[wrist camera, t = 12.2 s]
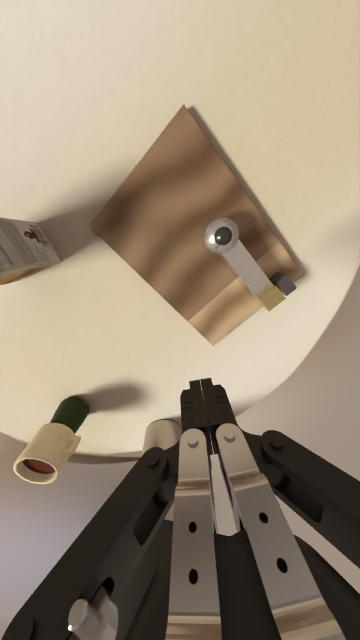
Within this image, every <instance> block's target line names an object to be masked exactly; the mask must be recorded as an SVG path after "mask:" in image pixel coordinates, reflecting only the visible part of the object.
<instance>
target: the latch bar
mask: <svg viewBox="0 0 360 640" xmlns="http://www.w3.org/2000/svg"><path fill="white" fill-rule="evenodd" d="M238 238H239V230H238V227H237V225H236V224H235V222H234V221H233V220H231V219H229V218H218V219H216V220H214V221H212V222H211V223H209V224H208V225H207V226H206V227H205V229H204V231H203V235H202V241H203V244H204V246H205V248H206V249H207V250H209V251H211V252H213V253H217V254H218V255H219V256H220V257H221V258H222V260H223V261H224V262H225V263H226V265H227V266H228V267H229V268H230V269H231V271H232V272H233V273H234V274H235V276H236V277H237V278H238V279H239V281H240V282H241V283H242V284H243V285H244V287H245V288H246V289H247V290H248V292H249V293H250V294H251V295H252V297H253V298H254V299H255V300H256V301H257V302H258V303H259V304H260V305H262V306H263V307H264V308H266V309H267V310H268V311H270V310H271V309H273V308H274V307H275V306H277V305H278V304H279V303H281V302H282V301H283V300H284V299H286V298H285V297H284V295H283V294H282V293H281V291H280V290H279V289H278V287H277V286H275V285H273V284H272V283H271V282H270V280H269V279H268V278H267V276H266V275H265V274H264V272H263V271H262V270H261V268H260V267H259V266H258V264H257V263H256V262H255V260H254V259H253V258H252V256H251V255H250V254H249V252H248V251H247V250H246V248H245V247H244V246H243V244H242V243H241V242H240V240H239V239H238Z"/></svg>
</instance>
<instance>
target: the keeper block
mask: <svg viewBox="0 0 360 640" xmlns="http://www.w3.org/2000/svg"><path fill="white" fill-rule="evenodd" d="M269 280H270V282H271V283H272V284H273V285H275V286H277V287H278V289H279V290H280V291H281V293H282V294H284V295H286V296H287V295H289V294H290V293H291V292H293V291H294V290H295V289H296V288H297V287H296V286H295V285H294V283H293V282H292V281H291V279H290V278H289V276H288V275H287V274H284V273H280V272H277V273H276V274H274V275H273V276H272V277H271V278H270V279H269Z"/></svg>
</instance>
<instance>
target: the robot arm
mask: <svg viewBox="0 0 360 640" xmlns="http://www.w3.org/2000/svg"><path fill="white" fill-rule="evenodd" d="M200 380H201V385H200ZM200 380H194V381H189V383H190V389H188V390H183V391H182V394H181V396H180V401H181V422H182V427H181V426H180V425H179V424H177V423H176V422H174V421H170V420H159V421H156V422H153V423H152V424H150V425H149V426H148V427H147V429H146V433H145V439H144V445H143V451H142V457H141V458H140V459H139V460H138V462H137V463H136V464H135V465H134V467H133V468H132V469H131V470H130V472H129V473H128V474H127V475H126V477H125V478H124V479H123V480H122V482H121V483H120V485H119V486H118V487H117V488H116V489H115V491H114V492H113V493H112V494H111V496H110V497H109V498H108V499H107V501H106V502H105V503H104V504H103V506H102V507H101V508H100V509H99V511H98V512H97V513H96V514H95V516H94V517H93V518H92V520H91V521H90V522H89V523H88V525H87V526H86V527H85V528H84V530H83V531H82V532H81V534H80V535H79V536H78V537H77V539H76V540H75V541H74V542H73V543H72V545H71V546H70V547H69V548H68V550H67V551H66V552H65V554H64V555H63V556H62V557H61V559H60V560H59V561H58V562H57V564H56V565H55V566H54V568H53V569H52V570H51V571H50V572H49V574H48V575H47V576H46V577H45V579H44V580H43V581H42V583H41V584H40V585H39V586H38V588H37V589H36V590H35V591H34V593H33V594H32V595H31V596H30V598H29V599H28V600H27V601H26V603H25V604H24V605H23V606H22V608H21V609H20V610H19V611H18V613H17V614H16V615H15V617H14V618H13V620H12V621H11V623H10V624H9V626H8V628H7V630H6V631H5V634H4V635H3V638H2V640H360V594H359V593H358V592H357V591H356V590H355V589H354V588H353V587H352V586H351V585H350V584H349V583H348V582H347V581H346V580H345V579H344V578H343V577H342V576H341V575H340V574H339V573H338V572H337V571H336V570H335V569H334V568H333V567H332V566H331V565H330V564H329V563H328V562H327V561H326V560H325V559H324V558H323V557H322V556H321V555H320V554H319V553H318V552H317V551H316V550H315V549H313V548H312V547H311V546H310V545H309V544H307V543H306V542H305V541H303V540H302V539H301V538H299V537H297V536H295V535H294V534H293V533H292V531H291V529H290V527H289V525H288V523H287V520H286V518H285V516H284V514H283V512H282V510H281V508H280V505H279V503H278V501H277V499H276V497H275V495H276V496H277V497H279V498H280V499H281V500H282V501H283V502H284V503H286V504H287V505H288V506H289V507H290V508H291V509H292V510H293V511H294V512H296V513H297V514H298V515H299V516H300V517H301V518H303V519H304V520H305V521H306V522H307V523H308V524H309V525H310V526H312V527H313V528H314V529H315V530H316V531H317V532H318V533H320V534H321V535H322V536H323V537H324V538H325V539H326V540H328V541H329V542H330V543H331V544H332V545H333V546H334V547H336V548H337V549H338V550H339V551H340V552H341V553H342V554H344V555H345V556H346V557H347V558H348V559H349V560H350V561H352V562H353V563H354V564H355V565H356V566H357V567H358V568H360V481H358V480H357V479H355V478H353V477H352V476H350V475H349V474H347V473H345V472H344V471H342V470H341V469H339V468H337V467H336V466H334V465H333V464H331V463H329V462H328V461H326V460H324V459H323V458H321V457H320V456H318V455H316V454H315V453H313V452H311V451H310V450H308V449H307V448H305V447H303V446H302V445H300V444H299V443H297V442H295V441H294V440H292V439H290V438H289V437H287V436H286V435H284V434H282V433H281V432H278V431H274V430H269V431H266V432H265V433H263V435H262V436H259V435H253V434H249V433H247V432H245V431H243V430H242V429H241V428H240V427H239V426H238V424H237V422H236V420H235V417H234V414H233V411H232V408H231V405H230V403H229V400H228V397H227V394H226V391H225V389H224V388H223V387H222V386H221V385H220V384H219V385H213V384H212V381H211V378H206V379H200ZM201 387H202V390H201ZM202 393H203V395H202ZM203 399H204V400H203ZM207 420H208V421H207ZM208 425H209V426H208ZM209 430H210V432H209ZM210 435H211V438H210ZM211 441H212V445H211ZM212 446H213V450H214V454H218V457H219V462H220V468H221V472H222V476H223V479H224V483H225V487H226V490H227V494H228V497H229V501H230V504H231V508H232V512H233V516H234V520H235V525H236V529H237V533H236V534H234V535H232V536H225V535H221V534H218V529H217V522H216V513H215V503H214V493H213V483H212V475H211V474H212V473H211V459H210V455H213V451H212ZM274 494H275V495H274Z"/></svg>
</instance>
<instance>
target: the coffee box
mask: <svg viewBox="0 0 360 640" xmlns="http://www.w3.org/2000/svg"><path fill="white" fill-rule="evenodd" d="M59 262H61V259H60V258H59V256H58V255H57V253H56V251H55V250H54V248H53V247H52V245H51V243H50V242H49V240H48V239H47V237H46V235H45V234H44V232H43V231H42V229H41V227H40V226H39V224H38V223H34V222H27V221H20V220H13V219H6V218H0V285H4V284H8V283H12V282H15V281H18V280H20V279H23V278H25V277H27V276H29V275H32V274H34V273H36V272H38V271H41V270H43V269H45V268H48V267H50V266H52V265H55V264H57V263H59Z"/></svg>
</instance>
